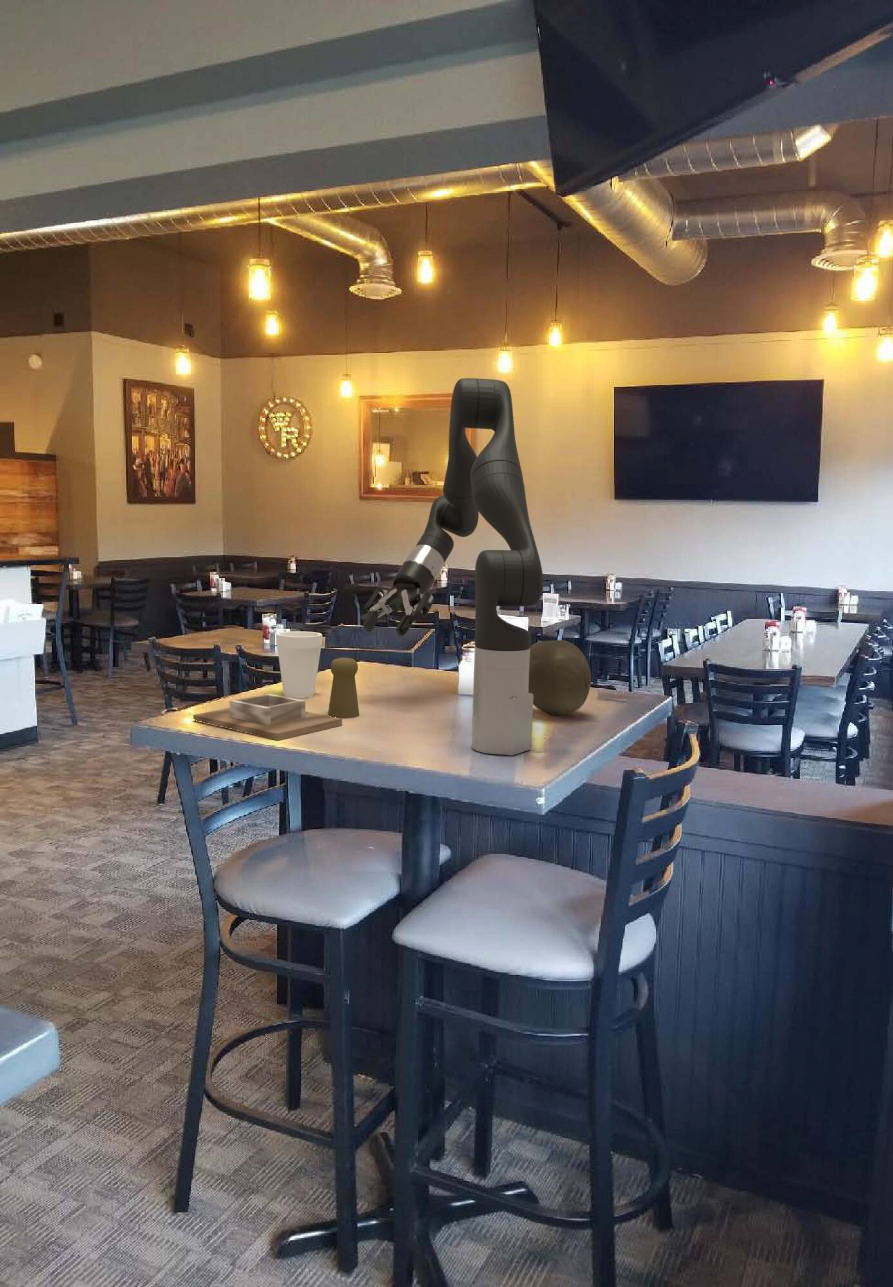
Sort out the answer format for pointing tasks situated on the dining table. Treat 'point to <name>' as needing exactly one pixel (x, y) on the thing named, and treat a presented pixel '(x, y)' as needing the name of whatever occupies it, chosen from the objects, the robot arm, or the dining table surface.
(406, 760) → the dining table surface
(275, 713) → the brown board with dish
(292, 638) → the foam cup
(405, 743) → the dining table surface
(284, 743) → the dining table surface
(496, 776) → the dining table surface
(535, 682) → the cantaloupe
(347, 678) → the olive pepper mill
